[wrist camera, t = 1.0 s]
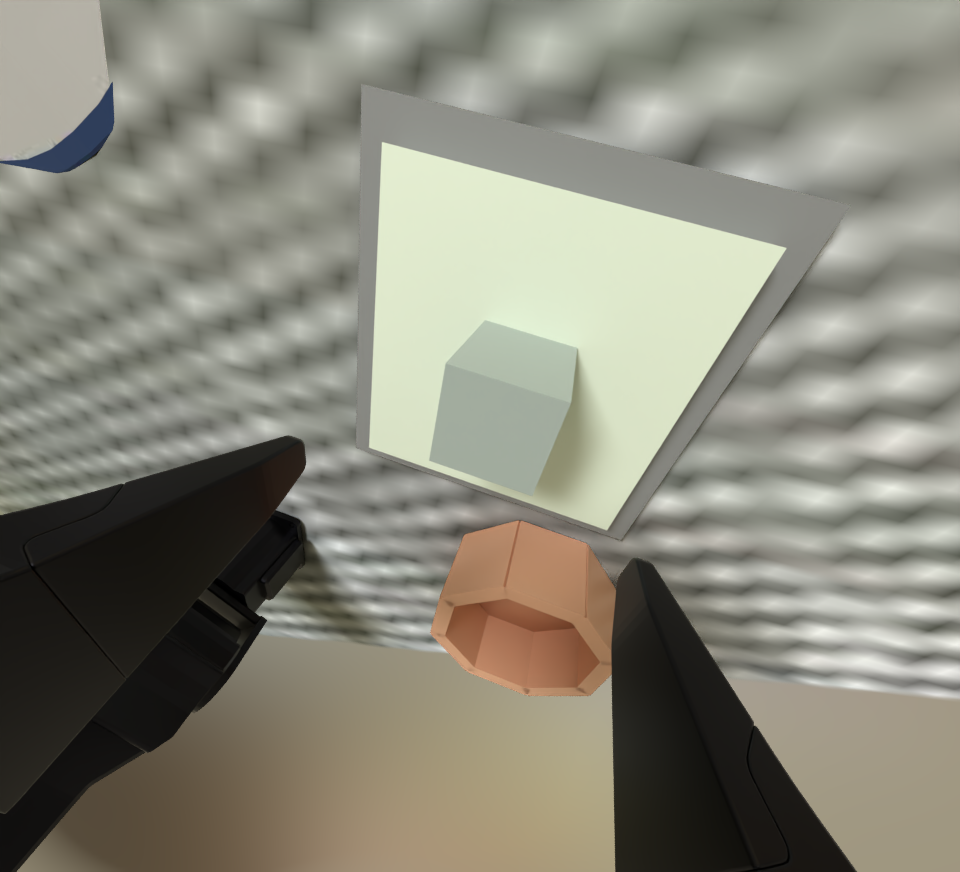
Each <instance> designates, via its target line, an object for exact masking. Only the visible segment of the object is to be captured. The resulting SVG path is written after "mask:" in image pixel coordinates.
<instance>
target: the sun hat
mask: <svg viewBox="0 0 960 872" xmlns="http://www.w3.org/2000/svg"><path fill="white" fill-rule="evenodd" d="M113 125H114V104H113V82H112V83H111V85H110V86H109V79H108V71H107V63H106V55H105V47H104V39H103V31H102V22H101V14H100V4H99V0H0V159H2V160H7V161H0V163H3V164H9V165H15V166H20V167H26V168H32V169H37V170H42V171H48V172H53V173H62V172H68V171H71V170H73V169H75V168H76V167H78V166H80V165H81V164H82V163H84V162H85V161H87V160H88V159H89V158H91V157H92V156H93V155H95V154H96V153H97V152H98V151H99V150H100V149H101V148H102V146H103V145H104V143H105V141H106V140H107V138H108V136H109V135H110V133H111V132H112V130H113Z"/></svg>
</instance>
